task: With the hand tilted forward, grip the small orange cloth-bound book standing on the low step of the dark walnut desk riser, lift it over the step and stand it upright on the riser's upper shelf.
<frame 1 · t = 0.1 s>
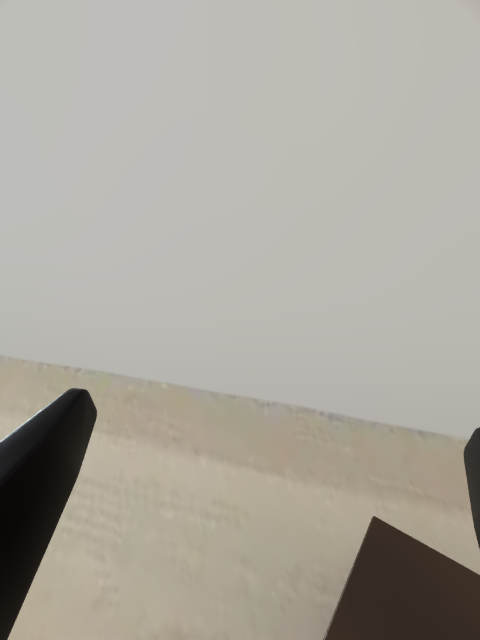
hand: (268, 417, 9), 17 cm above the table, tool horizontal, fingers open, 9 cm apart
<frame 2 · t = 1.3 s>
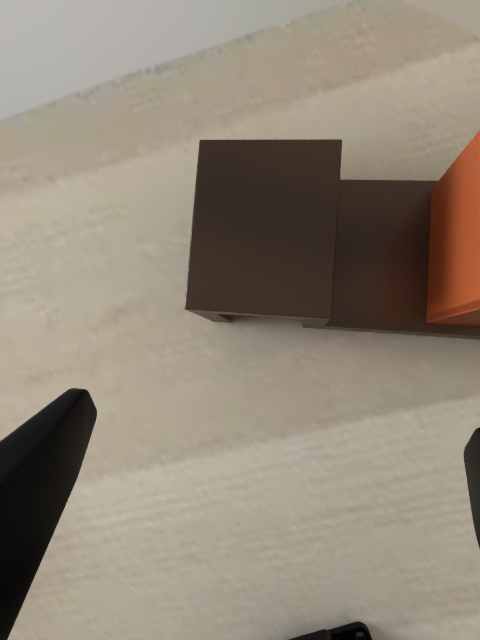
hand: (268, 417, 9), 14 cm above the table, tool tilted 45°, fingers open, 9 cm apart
book: (459, 256, 20), point 2 cm above the table, touching riser
riser: (326, 260, 23), on the table
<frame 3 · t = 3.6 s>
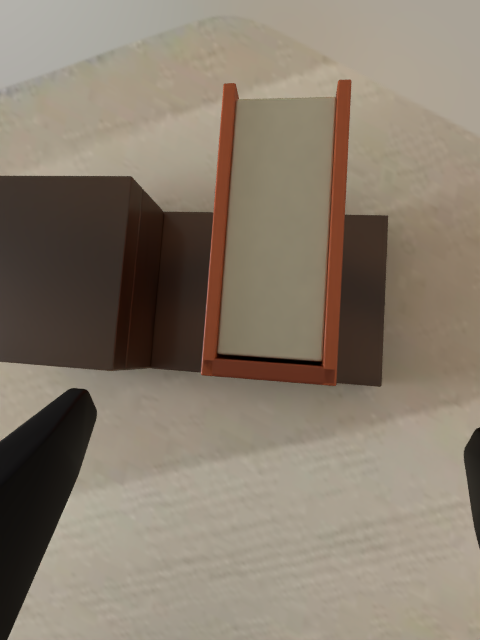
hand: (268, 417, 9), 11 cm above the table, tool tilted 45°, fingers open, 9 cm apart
book: (287, 294, 19), point 2 cm above the table, touching riser
riser: (169, 294, 22), on the table
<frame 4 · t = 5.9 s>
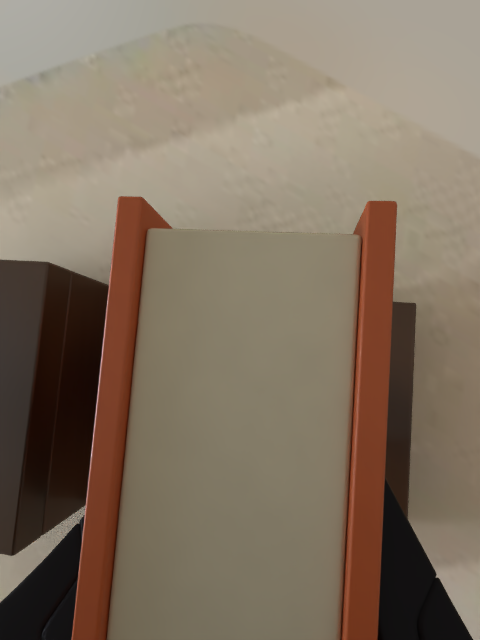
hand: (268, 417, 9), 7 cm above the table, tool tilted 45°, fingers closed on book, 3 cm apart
book: (276, 408, 14), point 2 cm above the table, touching gripper, riser
riser: (125, 387, 17), on the table
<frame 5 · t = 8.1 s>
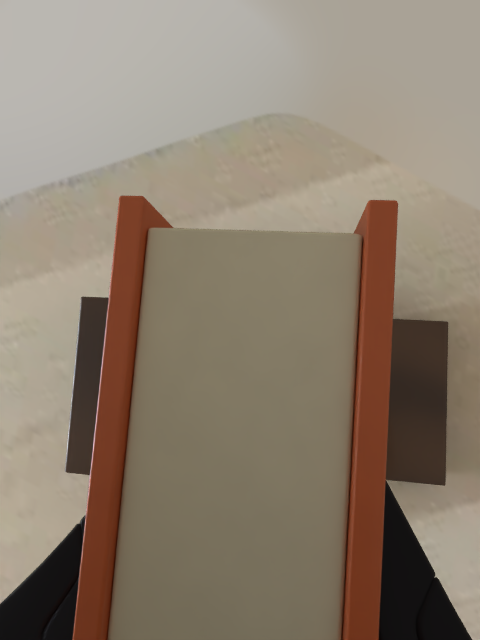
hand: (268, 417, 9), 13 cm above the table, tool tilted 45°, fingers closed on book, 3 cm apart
book: (276, 408, 14), point 9 cm above the table, touching gripper
riser: (233, 383, 23), on the table
when the fingers open (11 cm above the table, at t = 10.4 s): book stays where it is, resting on riser.
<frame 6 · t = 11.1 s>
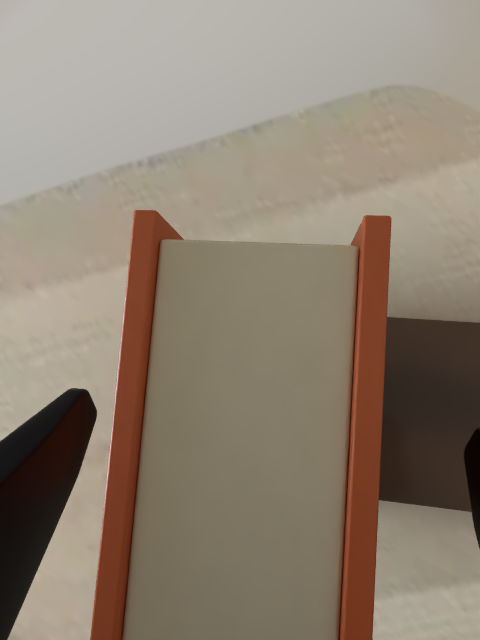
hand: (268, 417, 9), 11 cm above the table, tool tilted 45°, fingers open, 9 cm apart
book: (277, 408, 14), point 6 cm above the table, touching riser
riser: (348, 399, 20), on the table
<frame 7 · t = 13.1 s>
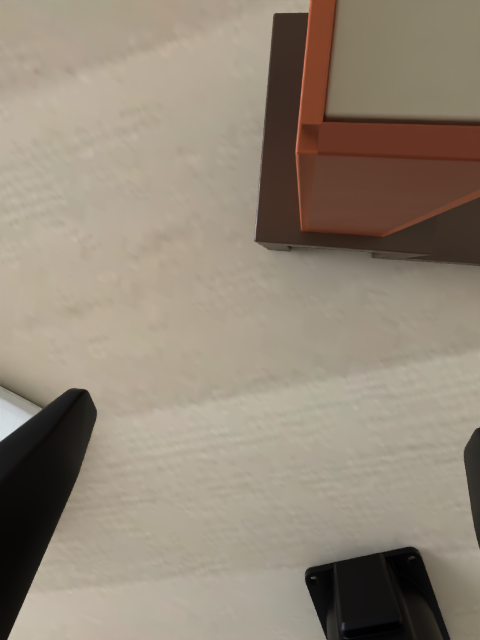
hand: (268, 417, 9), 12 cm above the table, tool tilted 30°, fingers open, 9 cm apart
book: (353, 134, 14), point 6 cm above the table, touching riser
riser: (406, 177, 19), on the table
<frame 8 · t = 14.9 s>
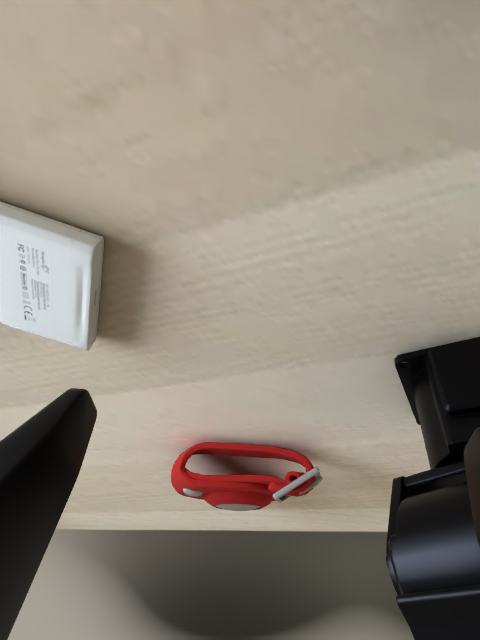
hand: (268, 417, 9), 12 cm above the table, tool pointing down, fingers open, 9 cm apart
hard drive: (0, 255, 23), on the table
tracker holder: (253, 462, 34), on the table
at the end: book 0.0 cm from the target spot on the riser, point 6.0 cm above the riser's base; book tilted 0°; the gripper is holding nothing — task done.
